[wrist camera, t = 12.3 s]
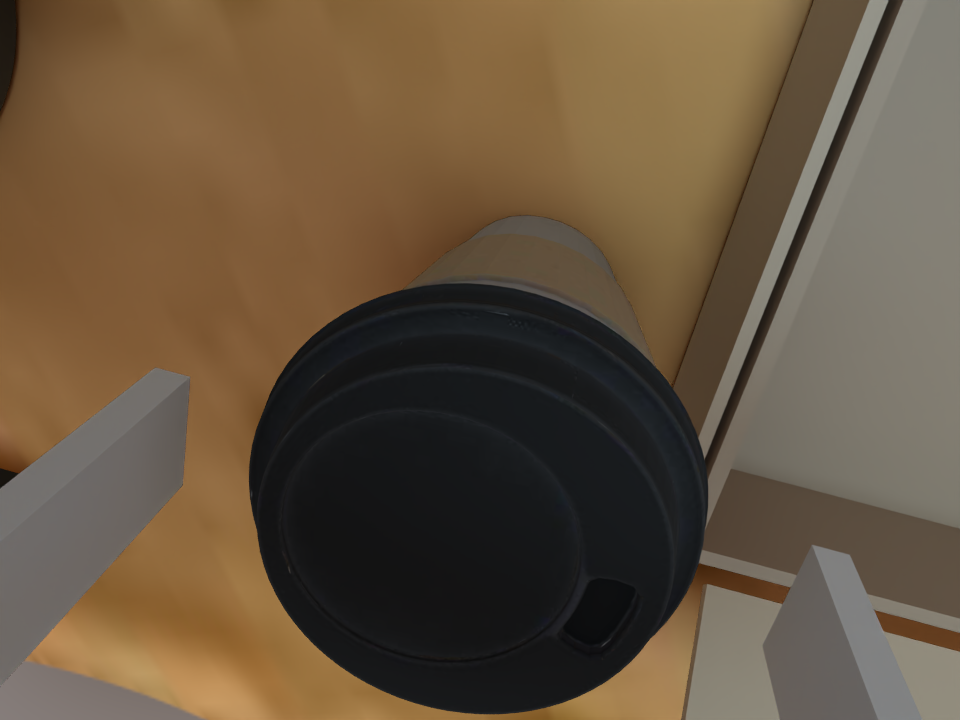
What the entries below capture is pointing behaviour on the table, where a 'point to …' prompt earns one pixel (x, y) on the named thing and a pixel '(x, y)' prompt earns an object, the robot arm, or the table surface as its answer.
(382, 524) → the coffee cup
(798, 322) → the carton
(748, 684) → the flap
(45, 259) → the table surface
